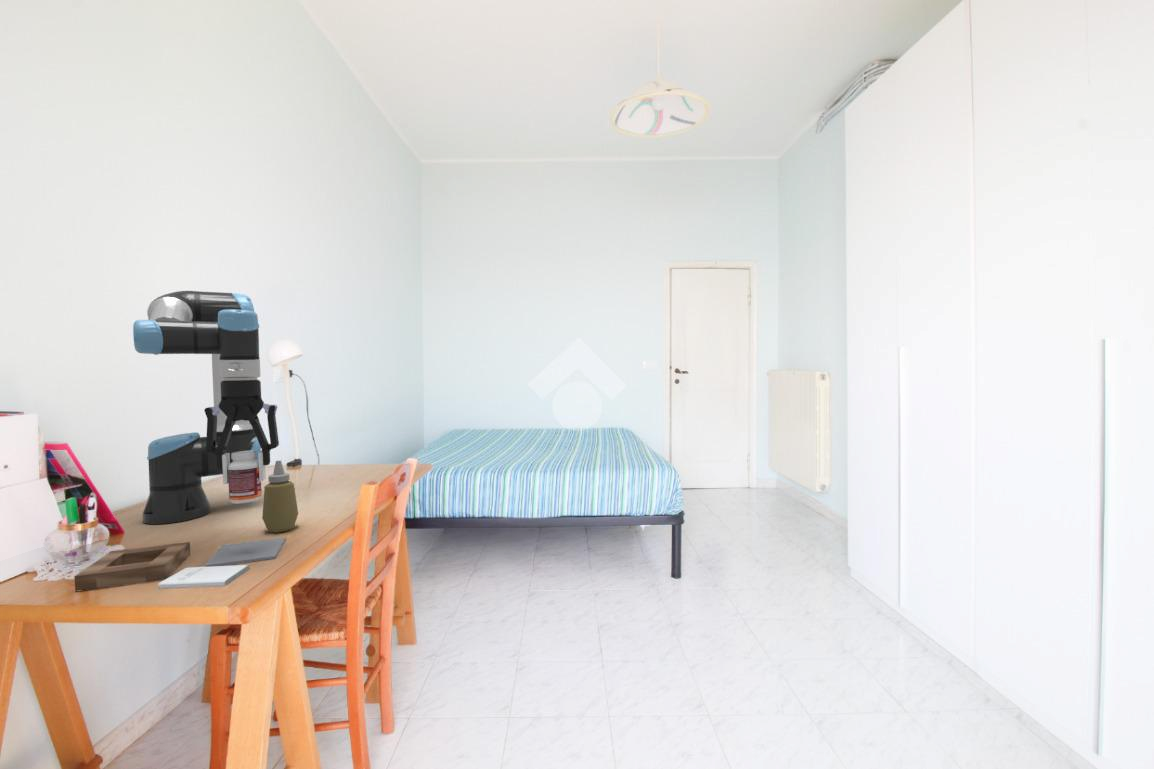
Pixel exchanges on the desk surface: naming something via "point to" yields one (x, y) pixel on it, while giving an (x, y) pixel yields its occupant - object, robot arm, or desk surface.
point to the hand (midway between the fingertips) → (245, 481)
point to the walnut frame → (133, 566)
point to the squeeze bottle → (279, 501)
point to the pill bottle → (244, 478)
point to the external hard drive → (204, 576)
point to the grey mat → (246, 552)
